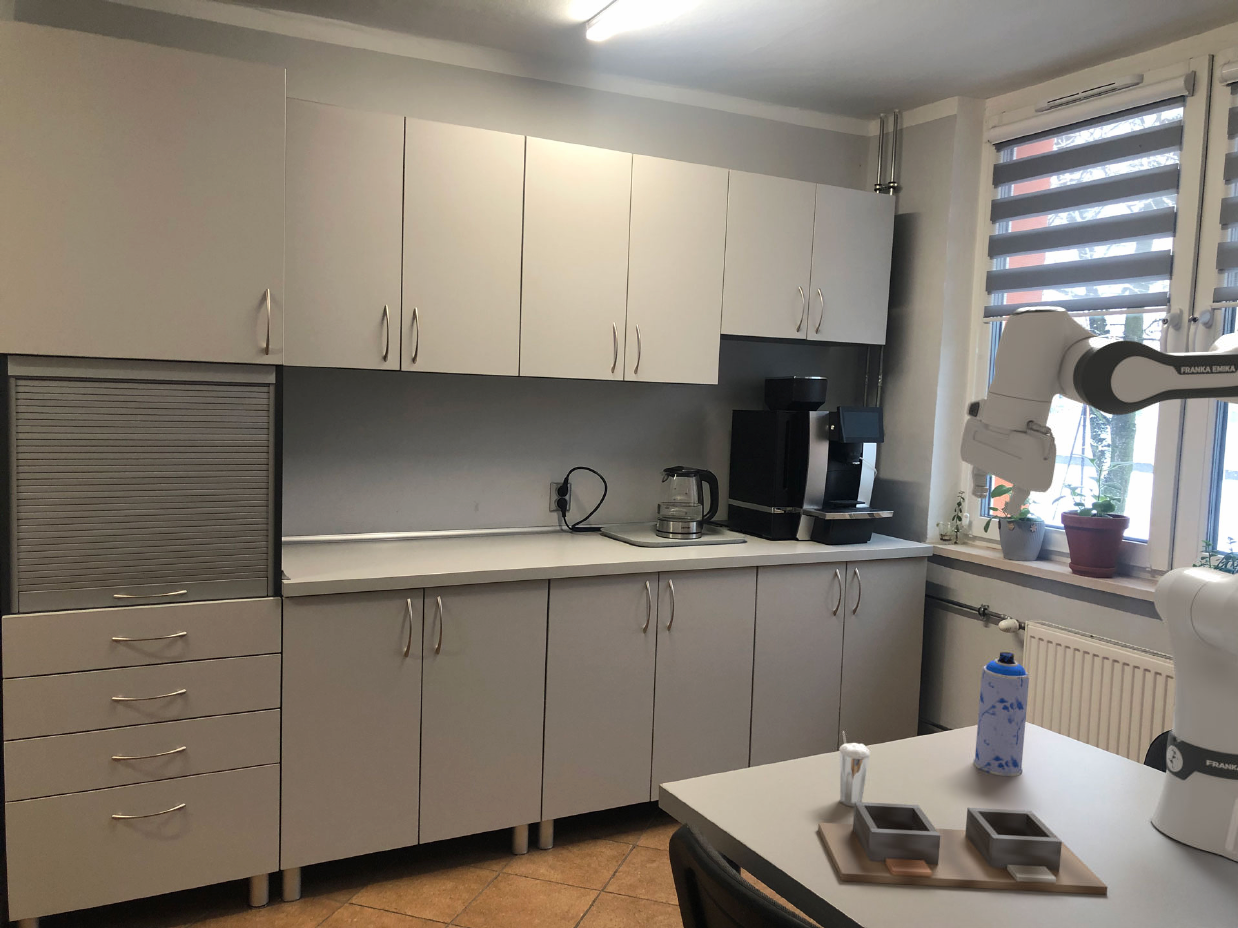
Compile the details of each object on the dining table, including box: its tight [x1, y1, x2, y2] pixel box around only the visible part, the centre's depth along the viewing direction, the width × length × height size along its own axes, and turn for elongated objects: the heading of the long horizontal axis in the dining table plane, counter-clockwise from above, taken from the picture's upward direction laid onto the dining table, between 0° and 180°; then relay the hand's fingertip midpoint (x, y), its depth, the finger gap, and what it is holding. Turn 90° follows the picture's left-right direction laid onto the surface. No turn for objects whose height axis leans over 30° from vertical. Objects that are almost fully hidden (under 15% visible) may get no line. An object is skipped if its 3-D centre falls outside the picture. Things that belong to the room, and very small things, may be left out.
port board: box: [817, 801, 1108, 895], centre depth 123 cm, size 34×14×5 cm, turn 90°
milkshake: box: [838, 731, 871, 808], centre depth 140 cm, size 5×5×10 cm
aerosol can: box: [973, 651, 1030, 777], centre depth 156 cm, size 8×8×20 cm
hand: (994, 505), depth 137 cm, fingers open, 8 cm apart
